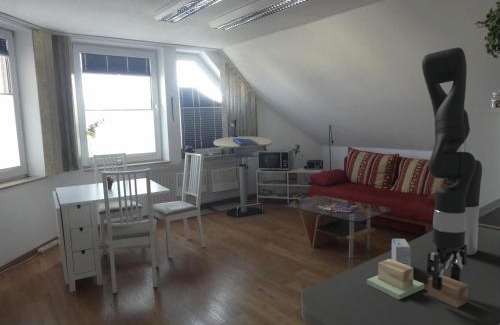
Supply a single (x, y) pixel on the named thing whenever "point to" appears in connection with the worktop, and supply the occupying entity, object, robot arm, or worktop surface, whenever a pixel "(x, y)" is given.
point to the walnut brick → (449, 292)
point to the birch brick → (395, 273)
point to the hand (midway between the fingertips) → (446, 284)
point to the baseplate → (395, 288)
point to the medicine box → (401, 251)
